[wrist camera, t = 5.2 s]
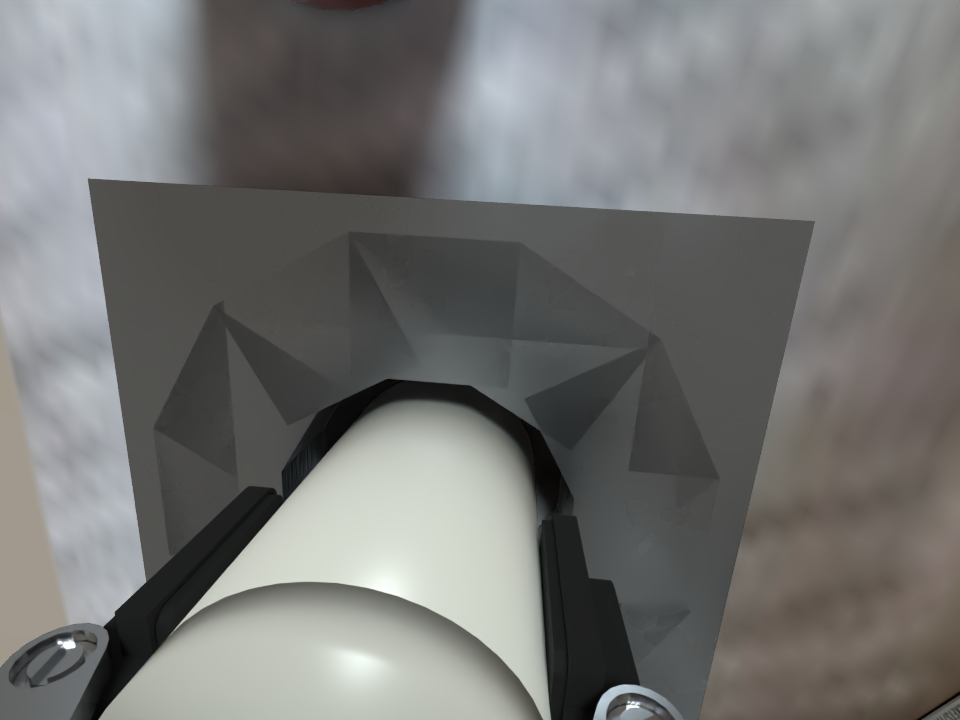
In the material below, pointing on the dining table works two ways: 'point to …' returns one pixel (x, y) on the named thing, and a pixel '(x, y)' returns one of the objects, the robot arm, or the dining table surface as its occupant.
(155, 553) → the housing
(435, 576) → the white rounded cylinder
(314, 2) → the soda can
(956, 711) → the coffee box
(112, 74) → the dining table surface
